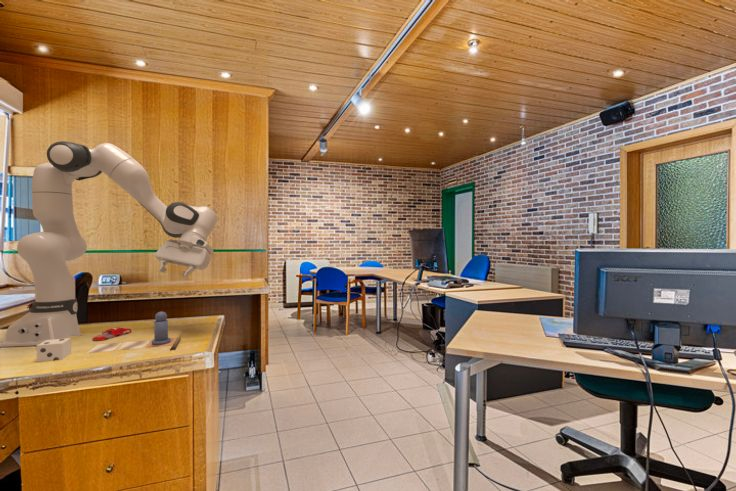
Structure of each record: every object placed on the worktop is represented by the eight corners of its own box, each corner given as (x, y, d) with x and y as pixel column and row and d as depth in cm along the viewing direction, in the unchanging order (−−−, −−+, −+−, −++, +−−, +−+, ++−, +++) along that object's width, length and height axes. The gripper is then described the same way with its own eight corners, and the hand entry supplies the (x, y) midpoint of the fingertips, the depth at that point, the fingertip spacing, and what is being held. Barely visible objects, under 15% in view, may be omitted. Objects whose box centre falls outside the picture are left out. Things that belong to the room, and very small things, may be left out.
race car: (99, 346, 122) (99, 334, 122) (87, 344, 124) (87, 333, 124) (134, 336, 135) (134, 325, 135) (123, 334, 136) (123, 324, 136)
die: (36, 366, 102) (36, 345, 102) (46, 359, 108) (46, 339, 108) (62, 363, 104) (62, 343, 104) (71, 357, 110) (71, 337, 110)
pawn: (150, 345, 118) (149, 313, 117) (153, 341, 123) (153, 310, 123) (169, 344, 120) (168, 312, 119) (171, 339, 125) (171, 309, 125)
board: (79, 358, 108) (79, 354, 108) (93, 347, 120) (93, 344, 120) (175, 349, 117) (175, 346, 117) (180, 339, 129) (180, 336, 129)
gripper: (163, 234, 138) (143, 264, 130) (211, 243, 134) (193, 275, 127) (171, 242, 143) (152, 272, 136) (217, 252, 140) (200, 283, 133)
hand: (172, 274), depth 132 cm, fingers open, 8 cm apart
